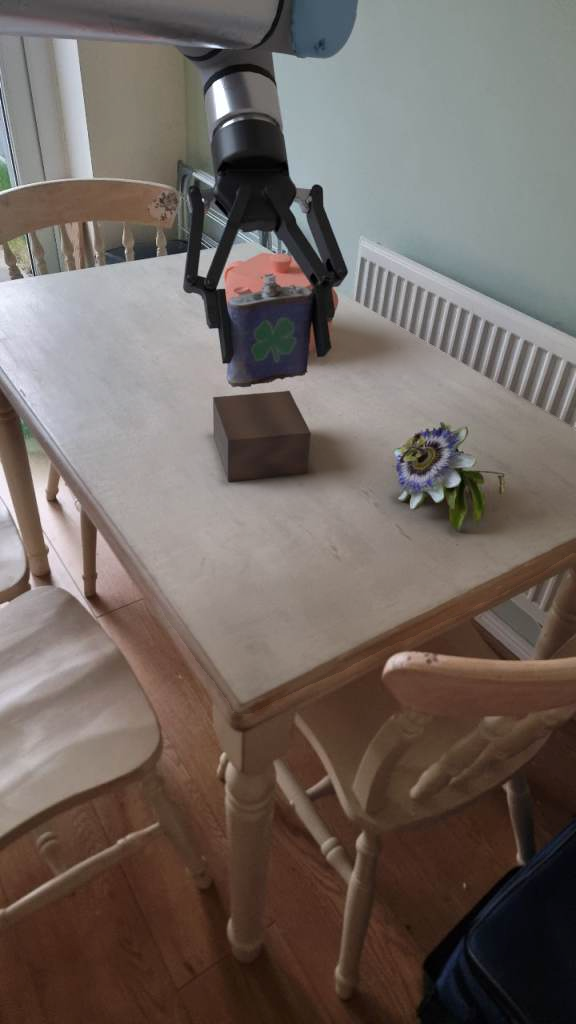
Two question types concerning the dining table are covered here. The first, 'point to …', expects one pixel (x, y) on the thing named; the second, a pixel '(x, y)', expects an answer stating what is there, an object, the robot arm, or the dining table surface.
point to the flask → (269, 333)
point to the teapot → (248, 274)
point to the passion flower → (441, 473)
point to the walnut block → (260, 435)
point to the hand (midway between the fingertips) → (276, 355)
